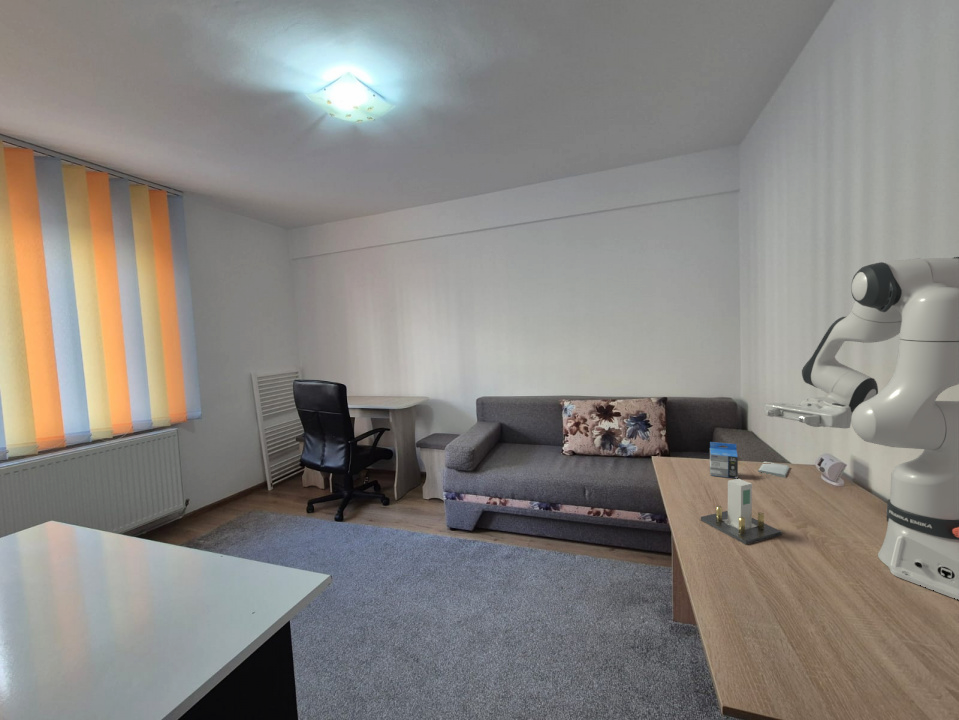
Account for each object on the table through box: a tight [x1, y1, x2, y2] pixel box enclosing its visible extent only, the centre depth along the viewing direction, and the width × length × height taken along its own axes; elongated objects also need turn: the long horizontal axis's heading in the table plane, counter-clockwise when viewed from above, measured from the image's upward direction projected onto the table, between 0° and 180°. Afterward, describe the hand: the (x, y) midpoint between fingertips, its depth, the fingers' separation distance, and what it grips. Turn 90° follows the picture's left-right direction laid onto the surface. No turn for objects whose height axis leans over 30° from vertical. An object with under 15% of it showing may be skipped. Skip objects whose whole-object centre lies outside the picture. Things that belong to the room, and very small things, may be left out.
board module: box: [727, 478, 753, 527], centre depth 108 cm, size 4×4×12 cm
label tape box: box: [709, 441, 739, 479], centre depth 145 cm, size 9×4×12 cm, turn 61°
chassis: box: [700, 505, 783, 545], centre depth 109 cm, size 14×13×5 cm
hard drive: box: [757, 461, 790, 479], centre depth 149 cm, size 2×8×12 cm
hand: (784, 416), depth 114 cm, fingers open, 8 cm apart
